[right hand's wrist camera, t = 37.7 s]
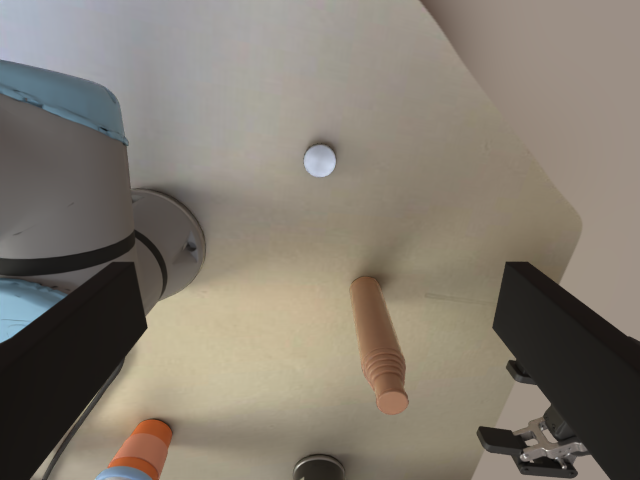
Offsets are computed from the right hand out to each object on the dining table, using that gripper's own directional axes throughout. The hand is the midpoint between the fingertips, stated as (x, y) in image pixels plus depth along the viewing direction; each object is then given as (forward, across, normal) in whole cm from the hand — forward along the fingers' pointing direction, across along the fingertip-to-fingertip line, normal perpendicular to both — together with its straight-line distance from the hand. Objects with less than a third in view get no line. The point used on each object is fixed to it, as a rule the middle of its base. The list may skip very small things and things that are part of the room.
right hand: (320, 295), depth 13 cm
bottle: (+34, +7, -19) cm, 40 cm away
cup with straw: (+34, -29, -46) cm, 64 cm away
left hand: (+15, +17, -21) cm, 31 cm away
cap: (+33, 0, 0) cm, 33 cm away
